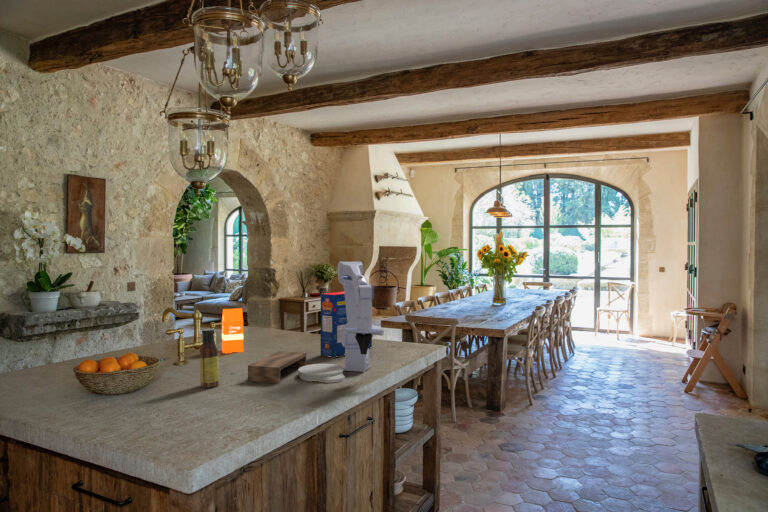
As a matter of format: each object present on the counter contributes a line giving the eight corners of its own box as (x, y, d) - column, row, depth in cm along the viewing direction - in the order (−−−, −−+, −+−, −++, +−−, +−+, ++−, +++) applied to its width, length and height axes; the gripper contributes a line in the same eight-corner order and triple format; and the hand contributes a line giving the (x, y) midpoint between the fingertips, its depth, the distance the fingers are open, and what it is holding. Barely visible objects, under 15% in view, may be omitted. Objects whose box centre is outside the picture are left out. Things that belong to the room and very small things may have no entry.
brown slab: (306, 366, 204) (306, 352, 204) (278, 383, 178) (278, 367, 178) (278, 365, 207) (279, 351, 206) (247, 381, 181) (247, 365, 181)
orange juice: (221, 350, 235) (221, 308, 235) (240, 348, 239) (240, 307, 239) (223, 353, 228) (223, 310, 228) (243, 352, 232) (243, 309, 232)
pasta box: (358, 345, 248) (359, 289, 248) (371, 347, 243) (372, 290, 243) (320, 355, 225) (320, 293, 225) (333, 358, 221) (334, 294, 220)
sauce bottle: (222, 384, 177) (222, 328, 176) (211, 389, 171) (211, 331, 170) (207, 382, 179) (207, 327, 178) (195, 387, 173) (195, 330, 173)
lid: (318, 387, 175) (318, 378, 175) (289, 375, 190) (289, 368, 190) (357, 378, 187) (357, 370, 186) (326, 369, 202) (326, 361, 202)
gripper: (342, 318, 182) (341, 355, 182) (380, 319, 179) (380, 357, 179) (347, 315, 189) (347, 351, 189) (385, 317, 186) (384, 353, 186)
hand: (363, 354), depth 185 cm, fingers closed
